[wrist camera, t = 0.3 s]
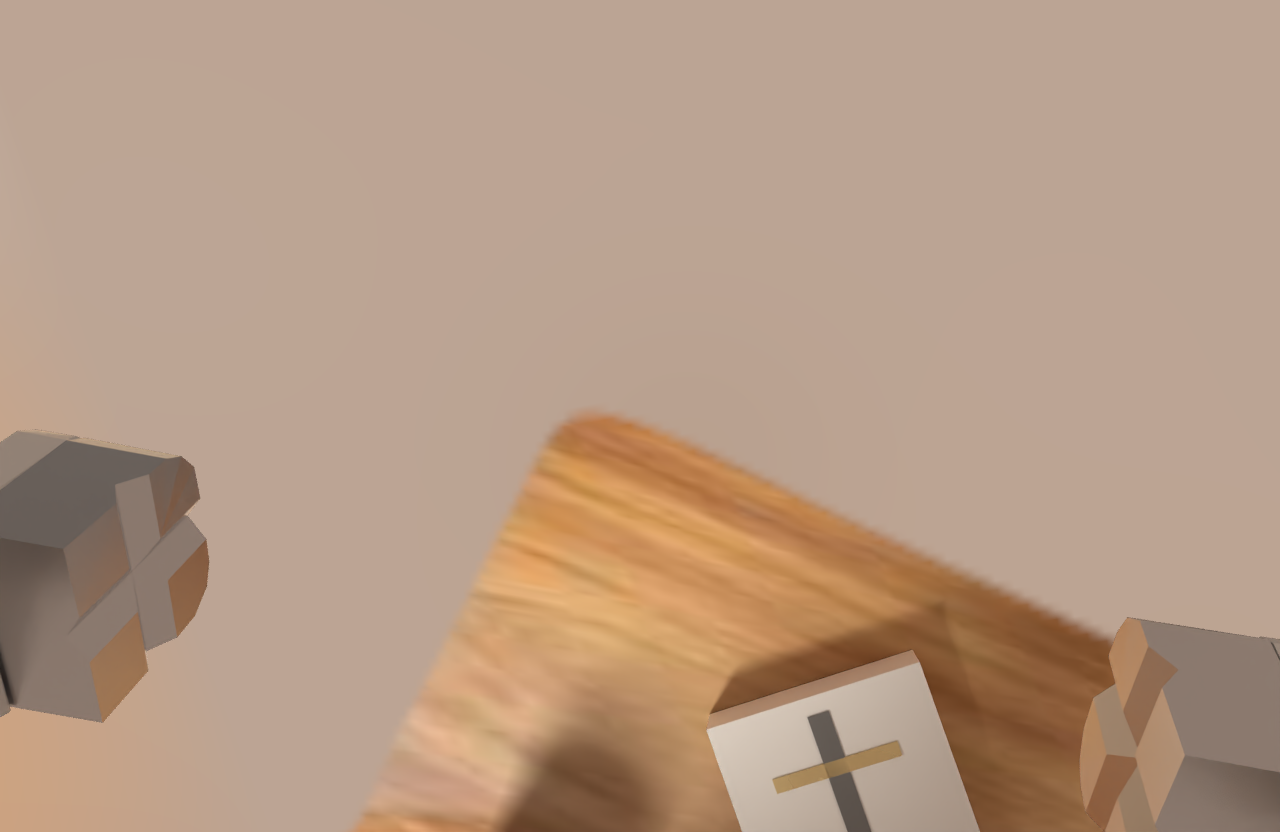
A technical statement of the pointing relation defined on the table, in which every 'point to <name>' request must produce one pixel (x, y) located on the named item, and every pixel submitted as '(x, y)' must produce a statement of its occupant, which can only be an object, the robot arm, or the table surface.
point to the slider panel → (843, 756)
